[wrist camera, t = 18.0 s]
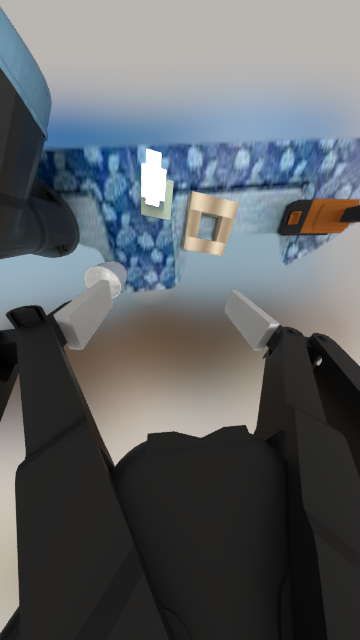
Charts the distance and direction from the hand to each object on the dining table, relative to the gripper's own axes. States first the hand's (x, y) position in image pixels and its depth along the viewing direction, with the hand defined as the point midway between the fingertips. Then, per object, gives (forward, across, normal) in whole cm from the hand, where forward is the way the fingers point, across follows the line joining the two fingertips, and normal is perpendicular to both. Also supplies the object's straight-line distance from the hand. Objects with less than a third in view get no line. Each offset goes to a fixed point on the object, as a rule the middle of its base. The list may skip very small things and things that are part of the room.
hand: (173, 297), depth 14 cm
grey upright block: (+28, -3, +12) cm, 30 cm away
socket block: (+28, +10, +8) cm, 31 cm away
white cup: (+29, -15, -6) cm, 33 cm away
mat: (+28, -3, +12) cm, 31 cm away
